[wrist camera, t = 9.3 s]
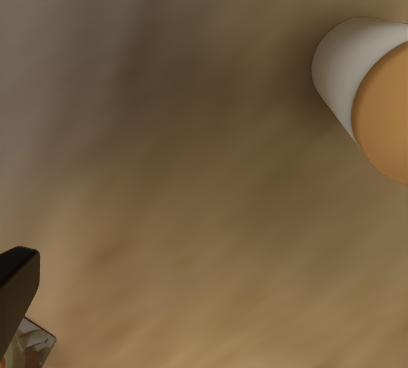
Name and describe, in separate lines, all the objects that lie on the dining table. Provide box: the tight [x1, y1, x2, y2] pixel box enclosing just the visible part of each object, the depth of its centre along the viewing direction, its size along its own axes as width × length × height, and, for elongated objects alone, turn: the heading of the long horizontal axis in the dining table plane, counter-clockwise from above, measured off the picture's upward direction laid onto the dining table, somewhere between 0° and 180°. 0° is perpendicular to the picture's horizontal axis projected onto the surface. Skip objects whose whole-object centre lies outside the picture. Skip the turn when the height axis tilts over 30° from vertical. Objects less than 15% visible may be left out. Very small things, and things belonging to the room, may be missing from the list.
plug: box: [311, 17, 408, 185], centre depth 14 cm, size 4×4×8 cm
